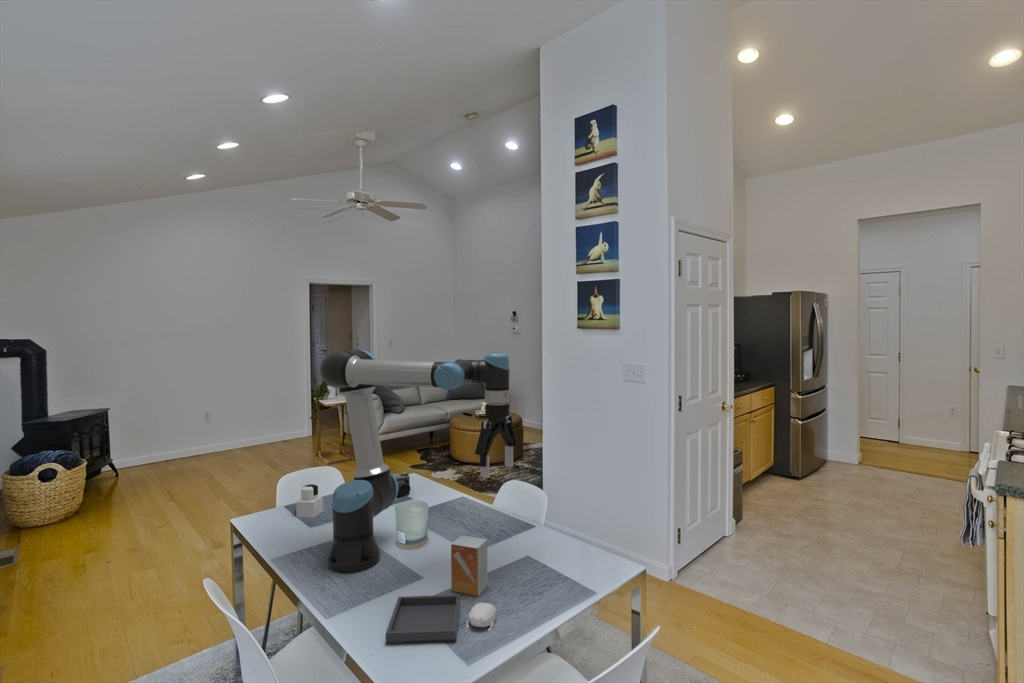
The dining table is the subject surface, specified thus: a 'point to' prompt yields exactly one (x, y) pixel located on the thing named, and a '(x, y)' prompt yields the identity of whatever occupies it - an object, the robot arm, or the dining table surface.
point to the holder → (424, 620)
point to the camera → (402, 484)
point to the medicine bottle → (309, 502)
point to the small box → (469, 565)
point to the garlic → (482, 615)
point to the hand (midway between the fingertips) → (497, 471)
